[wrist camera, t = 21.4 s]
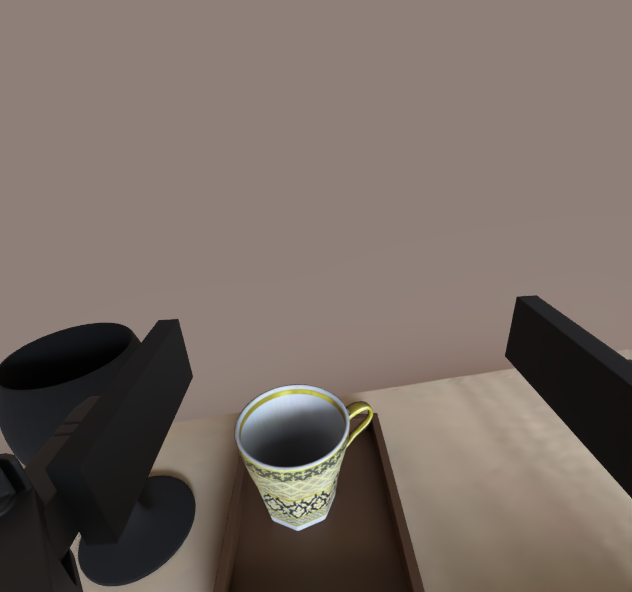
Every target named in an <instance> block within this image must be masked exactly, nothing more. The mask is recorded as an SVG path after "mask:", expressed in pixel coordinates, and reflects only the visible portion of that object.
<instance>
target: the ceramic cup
mask: <svg viewBox="0 0 632 592" xmlns="http://www.w3.org/2000/svg"><path fill="white" fill-rule="evenodd" d="M363 410H368V414H367V416H366V418H365V419H364V420H363V421H362V422H361V423H360V424H359V425H358V426H357V427H356V428H355V429H354V430H353V431H352V432H351V433H350V435H349V428H350V419H351V418H352V417H354V416H355V415H356V414H358V413H359V412H361V411H363ZM372 417H373V410H372V408H371V406H370V405H369V404H368V403H366V402H362V401H359V402H354V403H352V404H350V405H348V406H347V407H345V406H344V404H343V403H342V401H341V400H340V399H339V398H338V397H336V396H335V395H334V394H332V393H331V392H329V391H327V390H325V389H322V388H319V387H316V386H311V385H302V384H298V385H297V384H295V385H286V386H281V387H277V388H274V389H271V390H269V391H266V392H264V393H262V394H261V395H259V396H257V397H256V398H254V399H253V400H252V401H251V402H250V403H248V404H247V406H246V407H245V408H244V409H243V410H242V412H241V413H240V415H239V417H238V419H237V422H236V425H235V441H236V444H237V447H238V449H239V452H240V454H241V457H242V459H243V461H244V464H245V466H246V468H247V470H248V472H249V474H250V476H251V477H252V479H253V481H254V482H255V484H256V485H257V487H258V489H259V492H260V494H261V496H262V498H263V500H264V502H265V505H266V507H267V509H268V512H269V514H270V516H271V518H272V520H273V521H275V522H277V523H280V524H282V525H285V526H287V527H289V528H292V529H294V530H297V531H299V530H302V529H304V528H306V527H309V526H311V525H313V524H316V523H318V522H320V521H322V520H324V519H325V518H326V516H327V514H328V511H329V509H330V506H331V504H332V501H333V499H334V496H335V492H336V486H337V480H338V476H339V471H340V467H341V463H342V460H343V457H344V454H345V450H346V448H347V447H348V446H349V445H350V443H351V442H352V441H353V439H354V438H355V437H356V436H357V435H358V434H359V433H360V432H361V431H362V430H363V429H364V428H365V427H366V426H367V425H368V424H369V422H370V421H371V419H372Z"/></svg>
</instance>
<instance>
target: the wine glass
mask: <svg viewBox="0 0 632 592" xmlns="http://www.w3.org/2000/svg"><path fill="white" fill-rule="evenodd" d="M140 344H141V342H140V341H139V339H138V338H137V337H136V335H135V334H134V333H133V332H132V330H131V329H129V328H128V327H126V326H124V325H121V324H116V323H93V324H86V325H80V326H76V327H71V328H68V329H65V330H61V331H58V332H55V333H52V334H49V335H47V336H44V337H42V338H39V339H37V340H35V341H33V342H31V343H29V344H27V345H25V346H23V347H21V348H20V349H18V350H17V351H15V352H14V353H13V354H11V355H9V356H8V357H7V358H6V359H5V360H4V361H3V362H2V363H1V364H0V427H1V431H2V433H3V435H4V437H5V440H6V442H7V443H8V445H9V447H10V448H11V450H12V451H13V453H14V454H15V455H16V457H17V458H18V459H19V460H20V461H21V462H22V463H23V464H24V465H25V466H27V465H28V464H29V463H30V461H31V460H32V459H33V458H34V456H35V455H36V454H37V453H38V452H39V450H40V449H41V448H42V447H43V446H44V444H45V443H46V442H47V441H48V440H49V438H50V437H53V434H54V432H55V431H56V430H57V429H58V427H59V426H60V425H62V424H63V421H64V420H65V419H66V418H67V417H68V415H69V414H70V413H71V412H72V411H73V409H74V408H76V407H77V406H78V405H80V404H81V403H82V402H84V401H85V400H86V399H88V398H89V397H91V396H101V395H102V393H103V392H104V391H105V390H106V388H107V387H108V386H109V384H110V383H111V382H112V380H113V379H114V378H115V377H116V375H117V374H118V373H119V371H120V370H121V369H122V367H123V366H124V365H125V363H126V362H127V361H128V360H129V358H130V357H131V356H132V354H133V353H134V352H135V350H136V349H137V348H138V346H139V345H140ZM194 516H195V500H194V496H193V493H192V491H191V489H190V488H189V486H188V485H187V484H186V483H185V482H183V481H182V480H180V479H178V478H175V477H172V476H153V477H148V478H147V480H146V482H145V484H144V486H143V489H142V491H141V493H140V495H139V498H138V500H137V502H136V504H135V506H134V509H133V511H132V513H131V515H130V518H129V520H128V522H127V524H126V526H125V529H124V531H123V533H122V535H121V537H120V540H119V542H118V544H108V545H93V546H87V545H86V543H85V541H84V540H83V538H82V537H81V540H80V544H79V550H78V559H79V564H80V567H81V570H82V571H83V573H84V574H85V576H86V577H87V578H88V579H90V580H91V581H92V582H94V583H97V584H99V585H104V586H120V585H125V584H129V583H132V582H135V581H138V580H140V579H142V578H144V577H146V576H148V575H149V574H151V573H152V572H154V571H155V570H157V569H158V568H159V567H161V566H162V565H163V564H164V563H166V562H167V561H168V560H169V559H170V558H171V557H172V556H173V555H174V554H175V553H176V551H177V550H178V549H179V548H180V546H181V545H182V543H183V542H184V540H185V539H186V537H187V535H188V533H189V531H190V529H191V527H192V524H193V521H194Z"/></svg>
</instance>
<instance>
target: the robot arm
mask: <svg viewBox="0 0 632 592" xmlns="http://www.w3.org/2000/svg"><path fill="white" fill-rule="evenodd" d="M505 357H506V358H507V359H508V360H509V361H510V362H511V363H512V364H513V366H514V367H515V368H516V369H517V370H518V371H519V372H520V373H521V375H522V376H523V377H524V378H525V379H526V380H527V381H528V382H529V384H530V385H531V386H532V387H533V388H534V389H535V390H536V391H537V393H538V394H539V395H540V396H541V397H542V398H543V399H544V400H545V402H546V403H547V404H548V405H549V406H550V407H551V408H552V409H553V411H554V412H555V413H556V414H557V415H558V416H559V417H560V418H561V419H562V421H563V422H564V423H565V424H566V425H567V426H568V427H569V428H570V430H571V431H572V432H573V433H574V434H575V435H576V436H577V437H578V439H579V440H580V441H581V442H582V443H583V444H584V445H585V446H586V448H587V449H588V450H589V451H590V452H591V453H592V454H593V455H594V457H595V458H596V459H597V460H598V461H599V462H600V463H601V464H602V465H603V467H604V468H605V469H606V470H607V471H608V472H609V473H610V474H611V476H612V477H613V478H614V479H615V480H616V481H617V482H618V483H619V485H620V486H621V487H622V488H623V489H624V490H625V491H626V492H627V494H628V495H629V496H630V497H631V498H632V360H627V359H625V358H624V357H623V356H621V355H620V354H618V353H617V352H616V351H614V350H613V349H611V348H609V347H608V346H607V345H606V344H604V343H603V342H601V341H600V340H599V339H597V338H596V337H594V336H593V335H592V334H590V333H589V332H587V331H586V330H584V329H583V328H582V327H580V326H579V325H577V324H576V323H575V322H573V321H572V320H570V319H569V318H568V317H566V316H565V315H563V314H562V313H561V312H559V311H558V310H556V309H555V308H553V307H552V306H551V305H549V304H548V303H546V302H545V301H543V300H542V299H540V298H539V297H538V296H521V297H517V298H516V304H515V309H514V313H513V319H512V323H511V328H510V333H509V338H508V343H507V348H506V353H505ZM192 378H193V375H192V371H191V367H190V363H189V359H188V355H187V351H186V347H185V343H184V339H183V336H182V332H181V328H180V324H179V320H178V319H172V320H158V322H157V323H156V324H155V326H154V327H153V328H152V330H151V331H150V332H149V333H148V335H147V336H146V337H145V339H144V340H143V341H142V343H141V344H140V345H139V346H138V348H137V349H136V350H135V352H134V353H133V354H132V356H131V357H130V358H129V360H128V361H127V362H126V363H125V365H124V366H123V367H122V369H121V370H120V371H119V373H118V374H117V375H116V377H115V378H114V379H113V380H112V382H111V383H110V384H109V386H108V387H107V388H106V390H105V391H104V392H103V393H102V395H101V396H91V397H89V398H88V399H86V400H85V401H84V402H82V403H81V404H80V405H78V406H77V407H76V408H74V409H73V411H72V412H71V413H70V414H69V415H68V417H67V418H66V419H65V420H64V421H63V424H62V425H60V426H59V427H58V429H57V430H56V431H55V432H54V434H53V437H50V438H49V440H48V441H47V442H46V443H45V444H44V446H43V447H42V448H41V449H40V450H39V452H38V453H37V454H36V455H35V456H34V458H33V459H32V460H31V461H30V463H29V464H28V465H27V466H26V467H25V469H23V467H22V466H21V464H20V462H19V460H18V459H17V458H16V456H15V455H11V454H7V453H5V454H0V592H83V589H82V585H81V581H80V577H79V573H78V569H77V565H76V561H75V557H74V555H73V553H72V551H71V549H70V547H71V545H72V543H73V541H74V539H75V538H76V536H77V534H78V532H80V534H81V536H82V538H83V540H84V541H85V543H86V545H87V546H93V545H108V544H118V542H119V540H120V537H121V535H122V533H123V531H124V529H125V526H126V524H127V522H128V520H129V518H130V515H131V513H132V511H133V509H134V506H135V504H136V502H137V500H138V498H139V495H140V493H141V491H142V489H143V486H144V484H145V482H146V480H147V478H148V475H149V473H150V471H151V469H152V466H153V464H154V462H155V460H156V458H157V455H158V453H159V451H160V449H161V447H162V444H163V442H164V440H165V438H166V435H167V433H168V431H169V429H170V427H171V424H172V422H173V420H174V418H175V415H176V413H177V411H178V409H179V407H180V404H181V402H182V400H183V397H184V395H185V393H186V391H187V389H188V387H189V384H190V382H191V380H192Z"/></svg>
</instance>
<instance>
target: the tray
mask: <svg viewBox="0 0 632 592" xmlns="http://www.w3.org/2000/svg"><path fill="white" fill-rule="evenodd" d="M366 416H367V414H356V415H355V416H354V417H352V418H351V419H350V428H349V435H350V433H351V432H352V431H353V430H354V429H355V428H356V427H357V426H358V425H359V424H360V423H361V422H362V421H363V420H364V419H365V418H366ZM214 592H425V591H424V588H423V584H422V580H421V576H420V573H419V569H418V565H417V561H416V558H415V554H414V550H413V546H412V543H411V539H410V535H409V531H408V528H407V524H406V520H405V516H404V513H403V509H402V505H401V501H400V498H399V494H398V490H397V486H396V482H395V479H394V475H393V471H392V467H391V464H390V460H389V456H388V452H387V449H386V445H385V441H384V437H383V434H382V430H381V426H380V422H379V419H378V415H377V413H373V417H372V419H371V421H370V422H369V424H368V425H367V426H366V427H365V428H364V429H363V430H362V431H361V432H360V433H359V434H358V435H357V436H356V437H355V438H354V439H353V441H352V442H351V443H350V445H349V446H348V447H347V448H346V450H345V454H344V457H343V460H342V463H341V467H340V471H339V476H338V480H337V486H336V492H335V496H334V499H333V501H332V504H331V506H330V509H329V511H328V514H327V516H326V518H325V519H324V520H322V521H320V522H318V523H316V524H313V525H311V526H309V527H306V528H304V529H302V530H299V531H297V530H294V529H292V528H289V527H287V526H285V525H282V524H280V523H277V522H275V521H273V520H272V518H271V516H270V514H269V512H268V509H267V507H266V505H265V502H264V500H263V498H262V496H261V494H260V492H259V489H258V487H257V485H256V484H255V482H254V481H253V479H252V477H251V476H250V474H249V472H248V470H247V468H246V466H245V464H244V461H243V459H242V457H241V454H240V457H239V462H238V467H237V472H236V478H235V483H234V488H233V493H232V498H231V504H230V509H229V514H228V519H227V524H226V530H225V535H224V540H223V545H222V550H221V556H220V561H219V566H218V571H217V576H216V582H215V587H214Z"/></svg>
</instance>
